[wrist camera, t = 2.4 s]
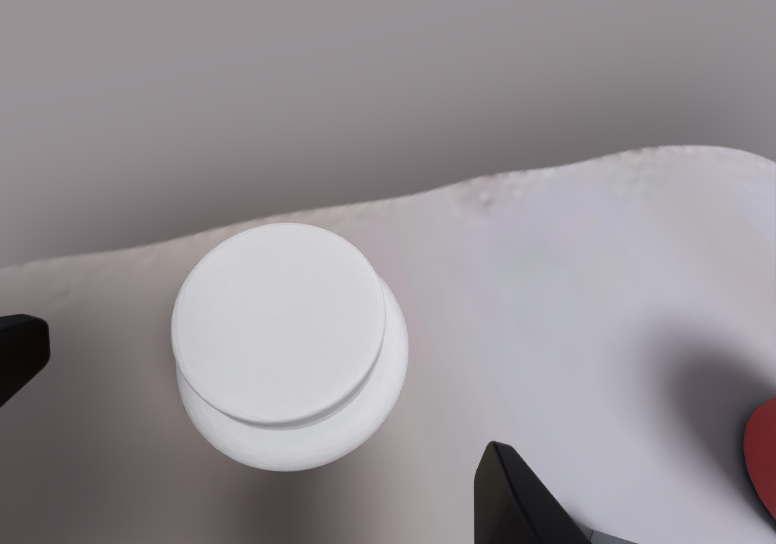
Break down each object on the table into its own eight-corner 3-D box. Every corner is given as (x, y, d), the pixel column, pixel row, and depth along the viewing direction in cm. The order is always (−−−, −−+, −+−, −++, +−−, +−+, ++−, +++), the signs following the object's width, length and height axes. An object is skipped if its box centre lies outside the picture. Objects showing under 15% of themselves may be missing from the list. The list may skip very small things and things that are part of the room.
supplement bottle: (283, 312, 18) (217, 156, 8) (397, 350, 17) (457, 233, 8) (225, 438, 15) (40, 412, 6) (357, 483, 15) (380, 530, 6)
